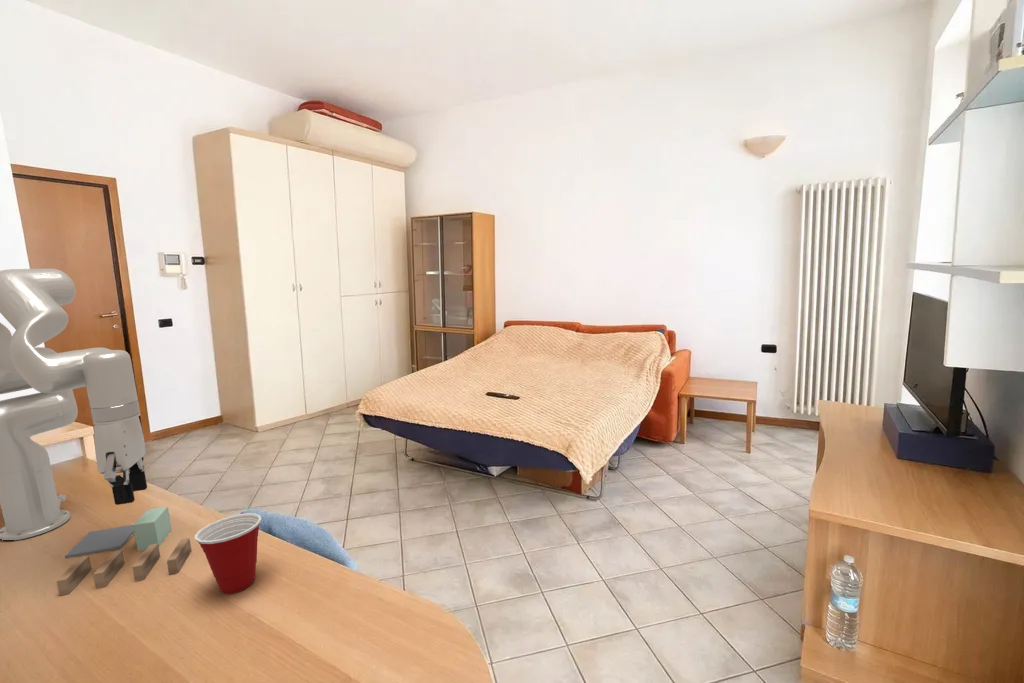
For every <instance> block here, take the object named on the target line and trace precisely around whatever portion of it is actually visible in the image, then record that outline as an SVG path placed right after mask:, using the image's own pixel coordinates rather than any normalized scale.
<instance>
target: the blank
mask: <svg viewBox="0 0 1024 683" xmlns="http://www.w3.org/2000/svg"><path fill="white" fill-rule="evenodd" d="M170 517H171V516H170V512H169V506H164V507H157V508H150V509H147V510H146V511H145V512H144V513H143V514H142V515H141V516H140V517H138V519H137V520H136V522H134V524H132V525H133V528H134V534H133V535H134V536H135V537H134V538H135V544H136V550H137V551H138V550H139V551H143V550H142V549H145V550H146V549H147V548H148V546H149V545H152V544H157V543H158V546H159V547H161V546H162V544H163V543H164V541H165V540H166V539H167V538H168V537H169V535H170V534H171V533H172V531H173V528H172V522H171V518H170ZM171 530H172V531H171ZM170 532H171V533H170ZM169 533H170V534H169ZM168 534H169V535H168ZM166 537H167V538H166ZM165 538H166V539H165ZM164 539H165V540H164ZM162 542H163V543H162ZM161 543H162V544H161Z"/></svg>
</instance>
